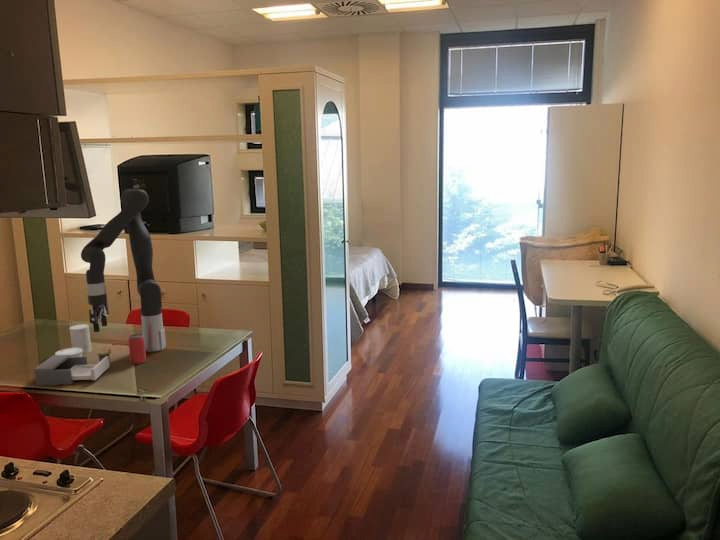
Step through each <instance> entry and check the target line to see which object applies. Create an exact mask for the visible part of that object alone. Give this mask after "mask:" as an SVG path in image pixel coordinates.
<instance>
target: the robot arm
mask: <svg viewBox="0 0 720 540" xmlns="http://www.w3.org/2000/svg"><path fill="white" fill-rule="evenodd" d="M149 200H150V199H149V195H148V193H147V191H145V190H144V189H140V188H129V189H127V188H126V189H125V190H124V191H123V192H122V194H121V196H120V202H121V207H122V210H120V212H119V213H117V215H115V216H114V217H112V218H111V219H110V220H109V221H108V222H107V223H106V224H105V225H103V227H102V228H101V230H100V231H99V232H98V233H97V235H96V236H95V237H94V238H92V239H91V240H90V241H89V242H88V243H87V244H86V245H85V246H84V247H83V248H82V250H81V252H80V258H81V260H82V261H83V262H85V263H88V264H89V269H86V272H85V277H86V292H87V302H88V305H90V306H92V309H89V310H88V314H89V324H92V327H93V328H92V329H93V332H94V333H99V332H100V330H101V329H100V323H101V327H107V326H108V320H107V319H108V316H109V304H108V296H107V295H108V294H107V286H106V281H105V280H106V279H105V274H104V273H105V267H106V254H105V252H104V250H105V249H107V248H109V247H111V246H112V245H113V243H114V242H115V241H116V240H117V238H118V237H119V236H120V234H121V233H122V232H123V231H124V229H125V228H126V227H127V231H128V236H129V237H128V238H129V245H130V251H131V255H132V260H133V264H134V268H135V273H136V274H135V275H136V288H137V290H136V291H137V293H138V295H139V296H140V318H141V319H140V320H141V327H142V328H141V329H142V335H143V338H144V341H145V351H146V352H151V353H152V352H153V353H154V352H158V351H164V349H165V348H166V347H167V341H166V330H165V327H164V325H163V323H164V322H163V313H162V308H163V300H162V289H161V287H160V285H159V284H158V282H156V278H155V275H154V274H155V273H154V271H153V257H154V250H153V243H152V237H151V234H150V232H149V230H148V229H147V227H146V226H145V223H144V222H143V219H142V216H141V215H142V214H141V212H142V211H143V210H144V209H145V208H146V207H147V206H148V204H149Z"/></svg>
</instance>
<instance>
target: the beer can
mask: <svg viewBox="0 0 720 540" xmlns="http://www.w3.org/2000/svg"><path fill="white" fill-rule="evenodd" d="M128 348H129V349H128V351H129V359H130V363H131V364H134V365H137V364H138V365H139V364H142V363H145V362H146V361H147V351H145V341H144V338H143V333H142V334H141V333H136V334H131V335H129V337H128Z"/></svg>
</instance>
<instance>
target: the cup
mask: <svg viewBox="0 0 720 540" xmlns="http://www.w3.org/2000/svg"><path fill="white" fill-rule="evenodd" d="M69 334H70V335H69V336H70V342H71V348H81V349H82V351H83V352H82V355H83V354H87V353H88V354H89V353H90V352H91V351H92V343H91V334H90V326H89V324H86V323H85V324H83V323H82V324H76V325H72V326H70V327H69Z"/></svg>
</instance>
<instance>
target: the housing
mask: <svg viewBox="0 0 720 540" xmlns="http://www.w3.org/2000/svg"><path fill="white" fill-rule="evenodd" d="M84 364H88V359H87V356H82V357H70V355H55V354H54V355H51V356H50V357H48V358H47V359H46V360H45V361H43V362H42V363H40V364H39V365H38V366H36V367H35V368H34V369H33V370H34V376H35V378H34V379H35V384H36V386H57V385H58V386H59V384H64V385H73V384H74V383H75V382H76V381H77V380H72V374H71V369H70V368H72V367H73V366H74V365H84Z"/></svg>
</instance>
